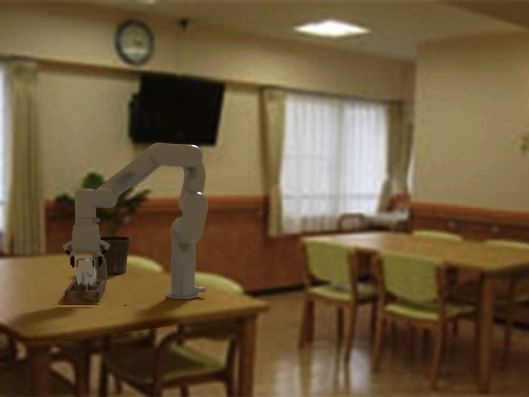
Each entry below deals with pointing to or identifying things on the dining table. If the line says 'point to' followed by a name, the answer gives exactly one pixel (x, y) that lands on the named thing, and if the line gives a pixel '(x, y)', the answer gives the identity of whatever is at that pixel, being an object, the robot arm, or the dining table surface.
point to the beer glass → (85, 273)
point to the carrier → (84, 293)
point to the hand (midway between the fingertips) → (86, 266)
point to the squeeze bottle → (100, 268)
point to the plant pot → (116, 253)
